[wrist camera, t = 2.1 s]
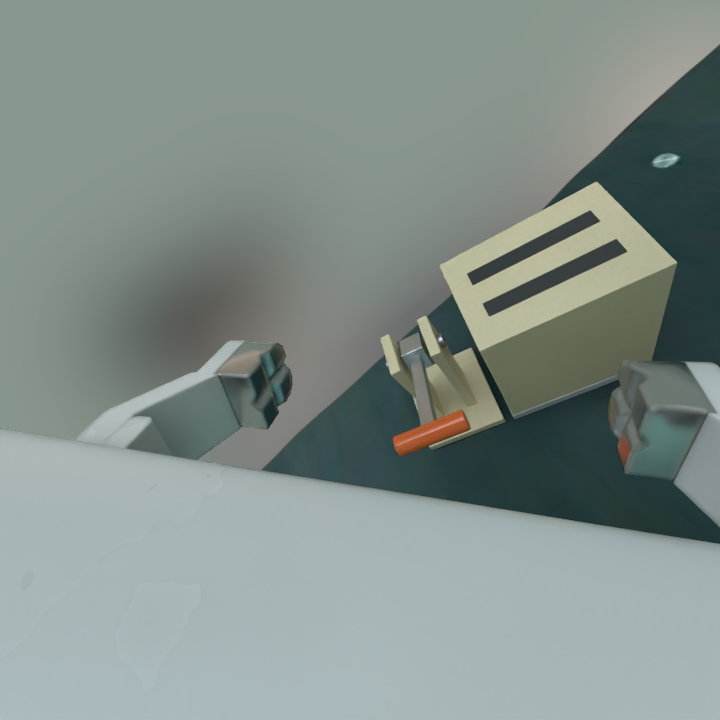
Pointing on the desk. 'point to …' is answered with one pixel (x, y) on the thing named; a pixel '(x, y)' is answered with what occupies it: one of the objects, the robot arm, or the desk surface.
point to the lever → (425, 403)
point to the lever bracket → (448, 382)
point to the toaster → (563, 299)
